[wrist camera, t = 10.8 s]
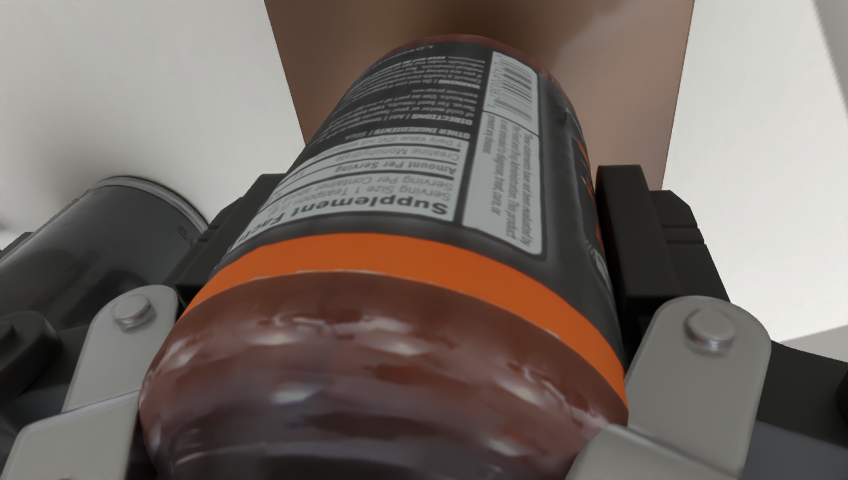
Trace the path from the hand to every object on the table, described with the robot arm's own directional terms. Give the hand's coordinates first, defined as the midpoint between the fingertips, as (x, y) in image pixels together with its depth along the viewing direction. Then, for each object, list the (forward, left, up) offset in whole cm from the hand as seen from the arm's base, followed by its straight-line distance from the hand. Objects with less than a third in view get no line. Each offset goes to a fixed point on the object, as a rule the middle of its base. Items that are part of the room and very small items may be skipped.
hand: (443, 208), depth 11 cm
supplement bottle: (0, 0, -3) cm, 3 cm away
